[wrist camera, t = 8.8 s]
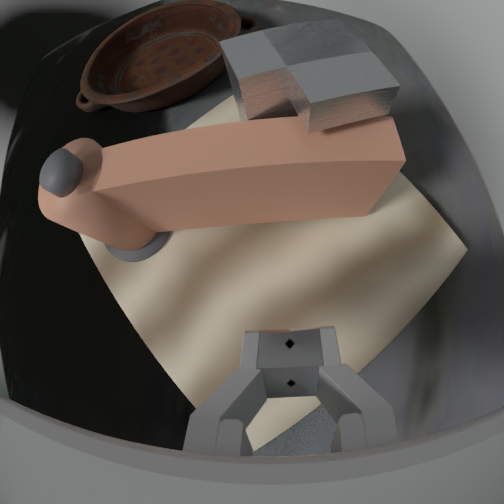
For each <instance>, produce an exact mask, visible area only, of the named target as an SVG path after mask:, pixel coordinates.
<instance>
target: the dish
mask: <svg viewBox="0 0 504 504" xmlns="http://www.w3.org/2000/svg"><path fill="white" fill-rule="evenodd" d="M240 29H247V30H240ZM256 31H260V24H259V22H258V21H257V20H255V19H253V18H249V17H240V15H239V12H238V11H237V10H236V9H235V8H233V7H232V6H229V5H227V4H225V3H222V2H218V1H212V0H187V1H180V2H175V3H170V4H167V5H163V6H160V7H157V8H154V9H151V10H149V11H147V12H144V13H142V14H140V15H138V16H136V17H135V18H133V19H131V20H130V21H128V22H127V23H125V24H124V25H122V26H121V27H119V28H118V29H117V30H115V31H114V32H113V33H112V34H111V35H109V36H108V37H107V38H106V39H105V40H104V41H103V42H102V43H101V44H100V45H99V47H98V48H97V49H96V50H95V52H94V53H93V54H92V56H91V58H90V59H89V61H88V63H87V65H86V67H85V69H84V72H83V74H82V78H81V91H80V93H79V94H78V96H77V99H76V105H77V106H78V108H80V109H82V110H84V111H85V112H94V111H96V110H99V109H101V108H103V107H106V106H111V107H114V108H116V109H119V110H122V111H126V112H145V111H151V110H156V109H160V108H163V107H166V106H169V105H171V104H174V103H176V102H179V101H181V100H183V99H185V98H187V97H190V96H191V95H193V94H195V93H196V92H198V91H200V90H201V89H202V88H204V87H205V86H206V85H208V84H209V83H210V82H212V81H213V80H214V79H215V78H216V77H218V76H219V75H220V73H221V72H222V71H223V70H224V68H225V67H226V65H225V61H224V58H223V54H222V51H221V47H220V44H219V42H220V41H223V40H227V39H230V38H234V37H237V36H241V35H245V34H248V33H252V32H256ZM88 100H89V102H88Z"/></svg>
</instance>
